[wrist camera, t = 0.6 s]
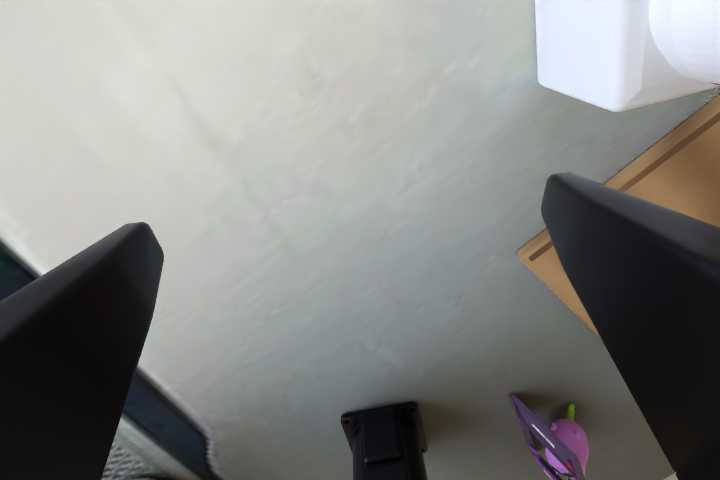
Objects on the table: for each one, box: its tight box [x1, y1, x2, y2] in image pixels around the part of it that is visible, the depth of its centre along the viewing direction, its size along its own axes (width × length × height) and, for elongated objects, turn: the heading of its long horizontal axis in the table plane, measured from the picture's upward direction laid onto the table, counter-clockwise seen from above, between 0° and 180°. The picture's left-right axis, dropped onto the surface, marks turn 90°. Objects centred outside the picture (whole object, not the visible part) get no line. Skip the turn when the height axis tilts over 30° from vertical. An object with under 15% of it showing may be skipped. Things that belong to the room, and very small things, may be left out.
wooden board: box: [516, 94, 720, 340], centre depth 25 cm, size 20×13×1 cm, turn 136°
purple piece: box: [509, 394, 589, 480], centre depth 33 cm, size 7×5×9 cm
